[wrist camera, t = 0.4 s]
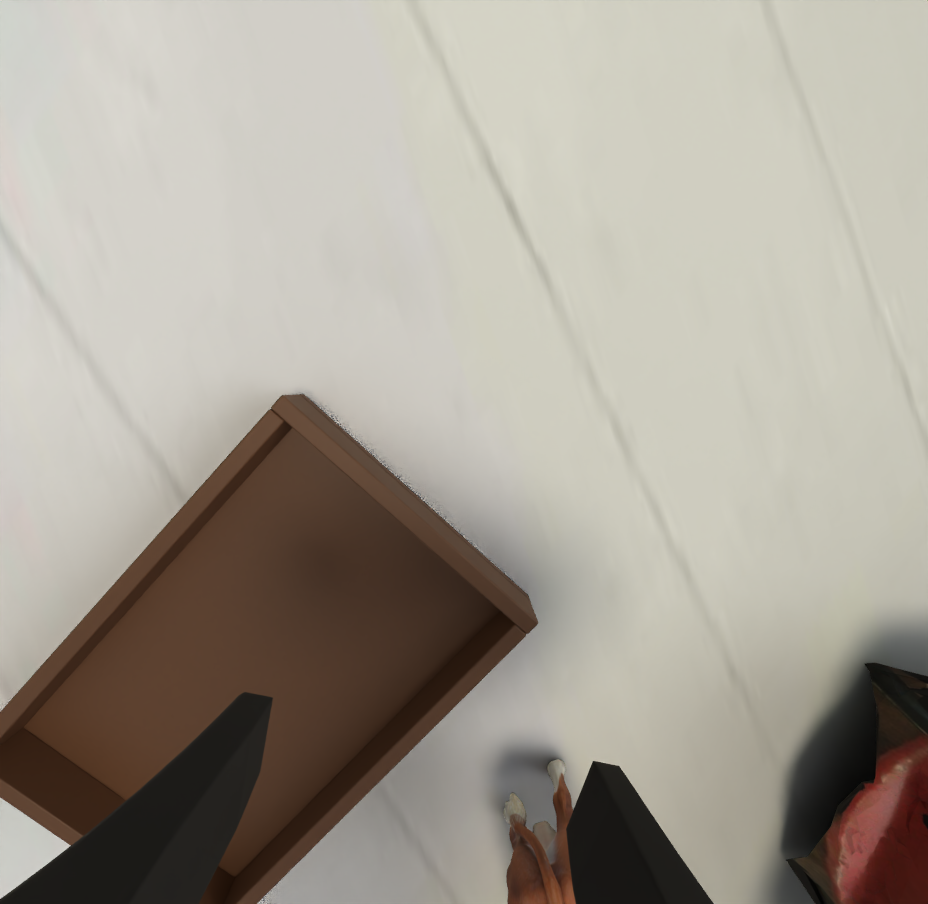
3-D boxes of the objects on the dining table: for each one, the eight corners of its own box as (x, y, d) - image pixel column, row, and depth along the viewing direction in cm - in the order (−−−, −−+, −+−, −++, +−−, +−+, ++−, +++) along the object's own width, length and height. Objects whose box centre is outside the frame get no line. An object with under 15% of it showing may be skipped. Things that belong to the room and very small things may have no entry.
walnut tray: (241, 883, 22) (215, 945, 20) (11, 720, 21) (-48, 765, 18) (528, 595, 21) (539, 623, 18) (303, 393, 19) (281, 394, 17)
